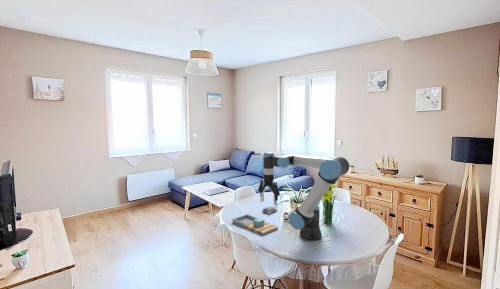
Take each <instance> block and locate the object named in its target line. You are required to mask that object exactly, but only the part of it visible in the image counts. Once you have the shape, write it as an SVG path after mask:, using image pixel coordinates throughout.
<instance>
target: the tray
mask: <svg viewBox="0 0 500 289" xmlns="http://www.w3.org/2000/svg"><path fill="white" fill-rule="evenodd" d="M257 218H258V217H256V216H253V215H252V214H251V215H250V214H244V215H241V216H237V217H235V218H232V223H233V224H234V225H237V226H239V227H242V228H244V225H245V224H248V223H251V222H253V220H254V219H257Z"/></svg>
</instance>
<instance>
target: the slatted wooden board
mask: <svg viewBox="0 0 500 289" xmlns="http://www.w3.org/2000/svg"><path fill="white" fill-rule="evenodd" d="M243 228H244V229H246V230H249V231H251V232H254V233H256V234H259V235H261V236H265V235H267V234H270V233H273V232H274V231H277V230H278V229H279V226H277V225H274V224H272V223H268V221H267V222H266V221H264V225H263V226H261V227H257V226H254V225H253V222H251V223H248V224H245V225H244V227H243Z"/></svg>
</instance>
